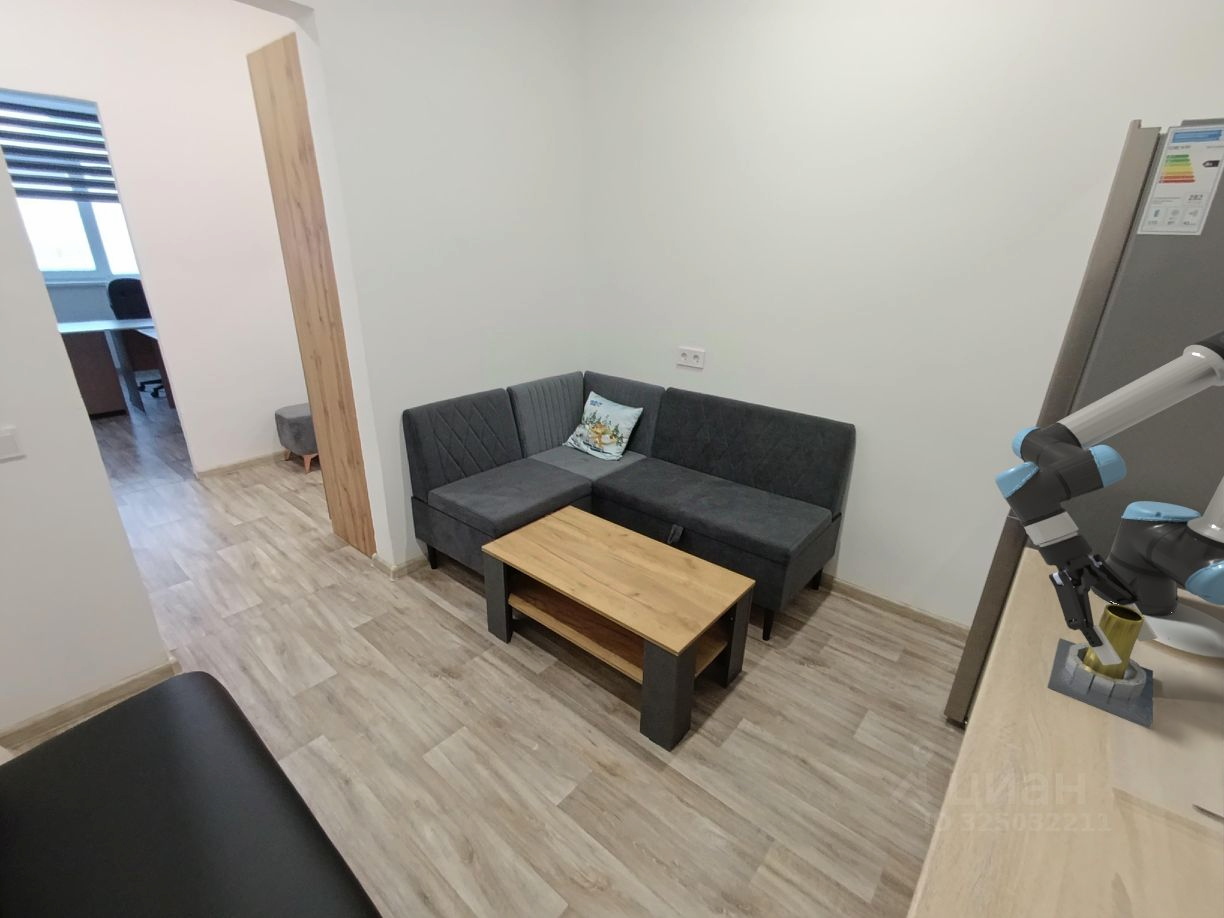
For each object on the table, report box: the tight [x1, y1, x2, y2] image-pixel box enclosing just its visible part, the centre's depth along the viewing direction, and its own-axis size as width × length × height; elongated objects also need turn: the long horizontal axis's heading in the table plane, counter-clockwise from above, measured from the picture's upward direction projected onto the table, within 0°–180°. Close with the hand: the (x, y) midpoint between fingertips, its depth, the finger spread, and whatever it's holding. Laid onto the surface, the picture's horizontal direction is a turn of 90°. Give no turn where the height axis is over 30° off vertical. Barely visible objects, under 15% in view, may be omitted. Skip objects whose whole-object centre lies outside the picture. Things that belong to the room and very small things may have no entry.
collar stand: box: [1047, 638, 1154, 729], centre depth 102 cm, size 16×14×4 cm
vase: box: [1083, 603, 1145, 680], centre depth 99 cm, size 6×6×14 cm
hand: (1131, 651), depth 97 cm, fingers open, 12 cm apart
